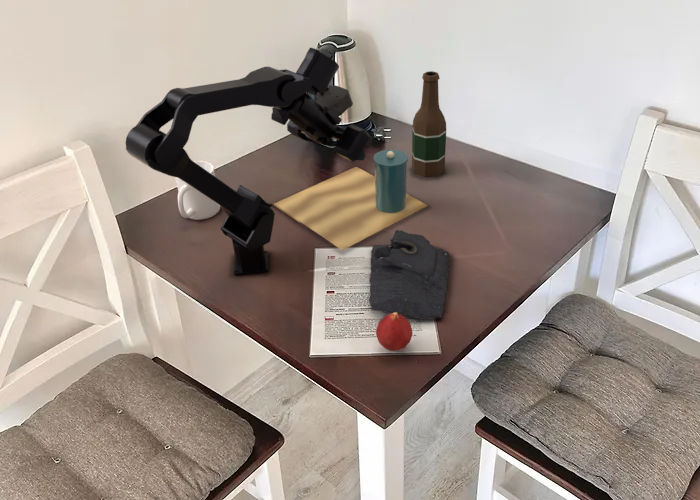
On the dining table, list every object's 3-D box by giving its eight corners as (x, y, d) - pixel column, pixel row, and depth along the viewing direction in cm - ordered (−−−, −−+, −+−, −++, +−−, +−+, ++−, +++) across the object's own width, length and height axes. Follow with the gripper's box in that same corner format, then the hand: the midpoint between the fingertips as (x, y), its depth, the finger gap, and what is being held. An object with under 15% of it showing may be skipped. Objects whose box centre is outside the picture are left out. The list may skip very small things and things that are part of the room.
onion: (369, 351, 108) (368, 315, 104) (389, 332, 112) (389, 296, 107) (398, 366, 105) (399, 330, 101) (418, 346, 109) (419, 309, 104)
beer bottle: (408, 177, 154) (409, 78, 139) (415, 161, 160) (417, 65, 145) (441, 181, 152) (445, 81, 137) (447, 165, 158) (452, 68, 143)
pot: (409, 212, 141) (410, 158, 133) (376, 215, 140) (375, 161, 133) (404, 195, 146) (404, 142, 139) (372, 197, 146) (371, 145, 138)
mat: (428, 207, 143) (428, 205, 142) (342, 252, 131) (342, 250, 131) (356, 168, 158) (356, 166, 158) (274, 205, 146) (273, 203, 146)
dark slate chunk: (356, 317, 115) (355, 297, 112) (374, 244, 133) (373, 225, 130) (444, 325, 113) (445, 304, 110) (451, 249, 130) (452, 230, 127)
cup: (227, 202, 148) (220, 162, 142) (202, 232, 139) (193, 191, 133) (194, 198, 150) (186, 158, 144) (167, 227, 141) (157, 186, 135)
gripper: (363, 89, 118) (401, 130, 130) (296, 65, 129) (337, 105, 141) (331, 142, 117) (372, 179, 130) (266, 114, 129) (310, 149, 141)
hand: (348, 151), depth 136 cm, fingers open, 9 cm apart
